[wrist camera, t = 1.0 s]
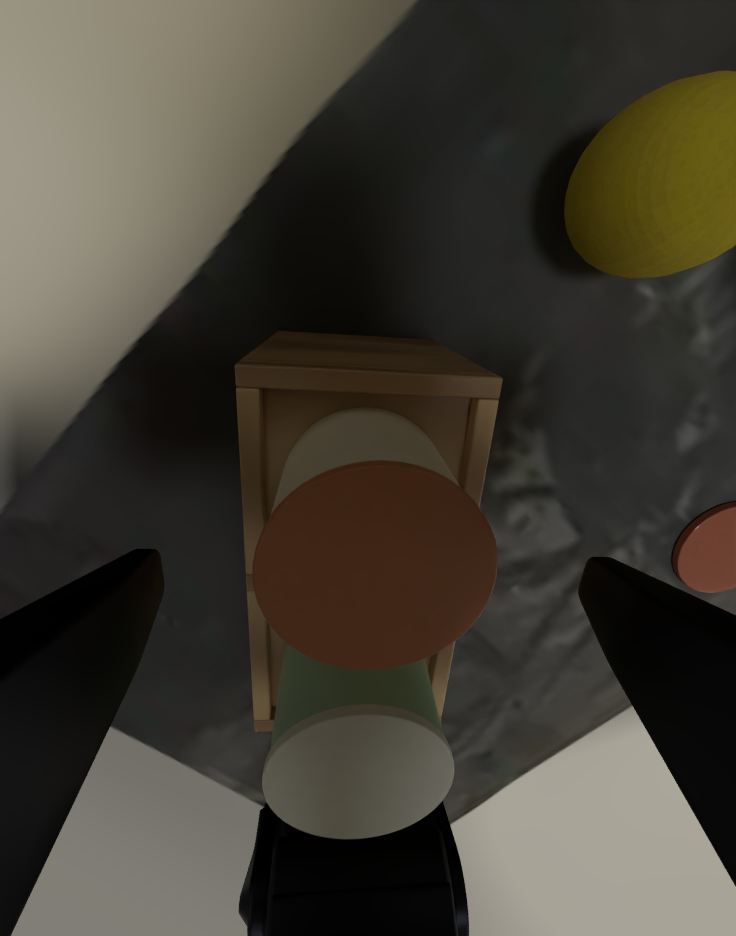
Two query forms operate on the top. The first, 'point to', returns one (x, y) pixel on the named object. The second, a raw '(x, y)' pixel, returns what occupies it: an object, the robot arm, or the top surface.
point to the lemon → (659, 182)
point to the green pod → (355, 749)
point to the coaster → (708, 551)
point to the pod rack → (335, 389)
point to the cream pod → (371, 546)
